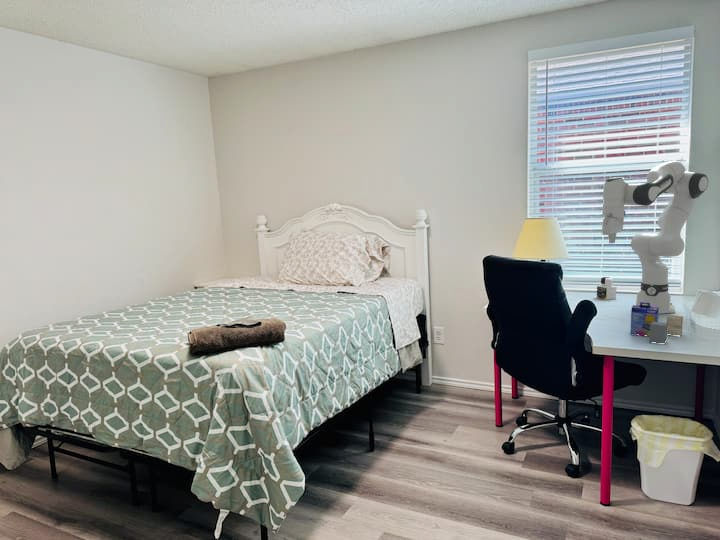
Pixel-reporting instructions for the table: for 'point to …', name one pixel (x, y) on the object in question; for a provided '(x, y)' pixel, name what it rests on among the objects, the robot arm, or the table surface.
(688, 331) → the table surface
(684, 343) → the table surface
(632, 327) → the ink cartridge box
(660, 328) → the slate block
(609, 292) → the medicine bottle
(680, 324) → the birch block
